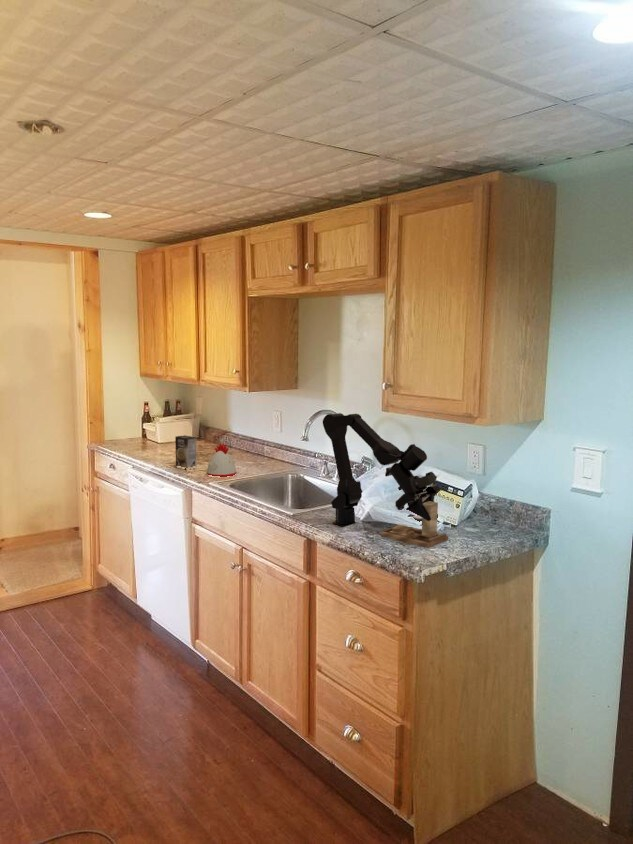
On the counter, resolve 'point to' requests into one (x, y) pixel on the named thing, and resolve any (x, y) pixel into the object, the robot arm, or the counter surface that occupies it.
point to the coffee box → (185, 451)
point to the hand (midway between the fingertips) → (433, 518)
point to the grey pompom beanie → (221, 463)
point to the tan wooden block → (430, 526)
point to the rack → (417, 538)
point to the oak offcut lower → (404, 534)
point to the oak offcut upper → (402, 529)
